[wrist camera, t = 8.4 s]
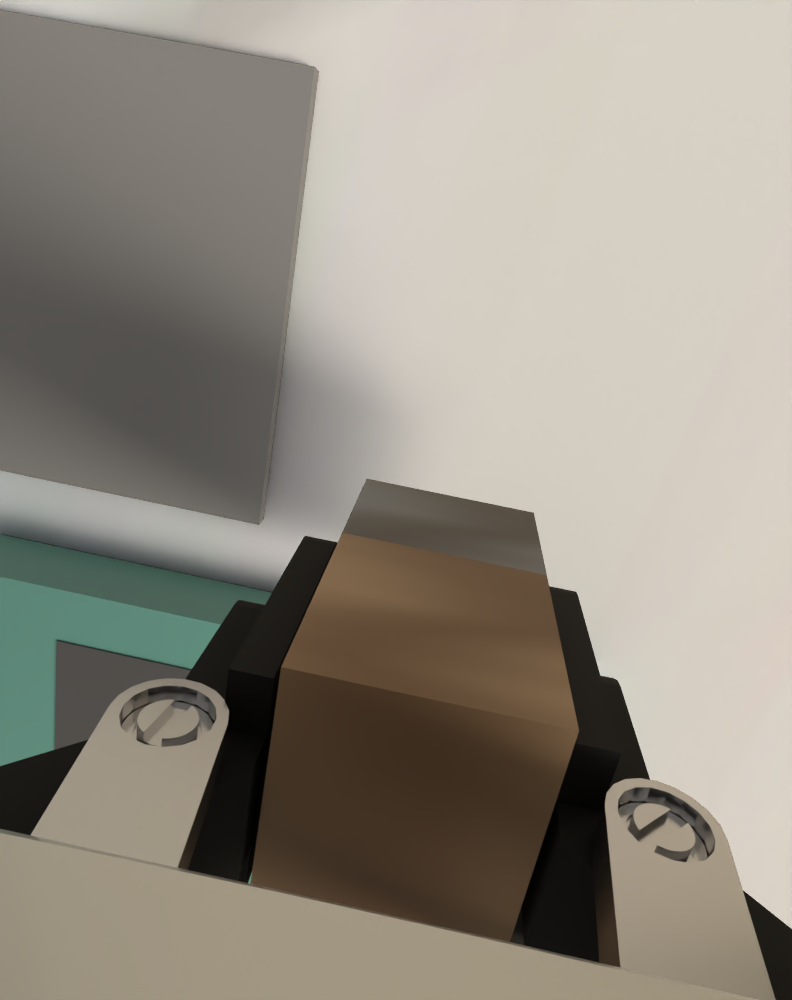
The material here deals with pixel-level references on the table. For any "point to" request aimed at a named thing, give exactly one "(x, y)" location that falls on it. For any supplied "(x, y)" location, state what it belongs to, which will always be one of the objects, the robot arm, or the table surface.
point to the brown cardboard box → (420, 718)
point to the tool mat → (146, 260)
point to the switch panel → (92, 637)
